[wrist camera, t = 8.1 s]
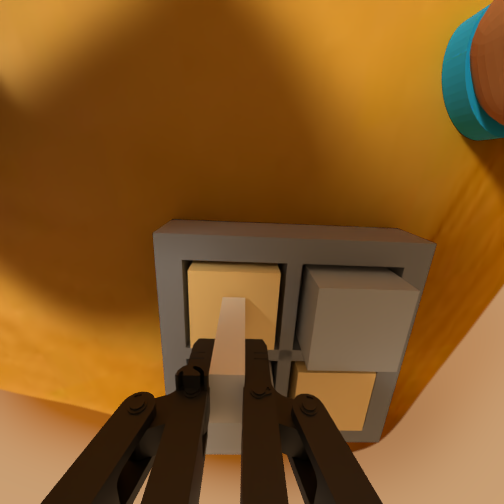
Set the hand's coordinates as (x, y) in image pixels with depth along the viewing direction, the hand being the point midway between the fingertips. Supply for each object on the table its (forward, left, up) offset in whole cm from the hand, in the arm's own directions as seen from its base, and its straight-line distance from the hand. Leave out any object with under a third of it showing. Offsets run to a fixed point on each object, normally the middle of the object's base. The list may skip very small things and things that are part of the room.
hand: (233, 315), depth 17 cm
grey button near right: (+8, 0, -2) cm, 8 cm away
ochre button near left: (0, 0, -4) cm, 4 cm away
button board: (+4, -4, -5) cm, 8 cm away
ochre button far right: (+8, -8, -4) cm, 12 cm away
